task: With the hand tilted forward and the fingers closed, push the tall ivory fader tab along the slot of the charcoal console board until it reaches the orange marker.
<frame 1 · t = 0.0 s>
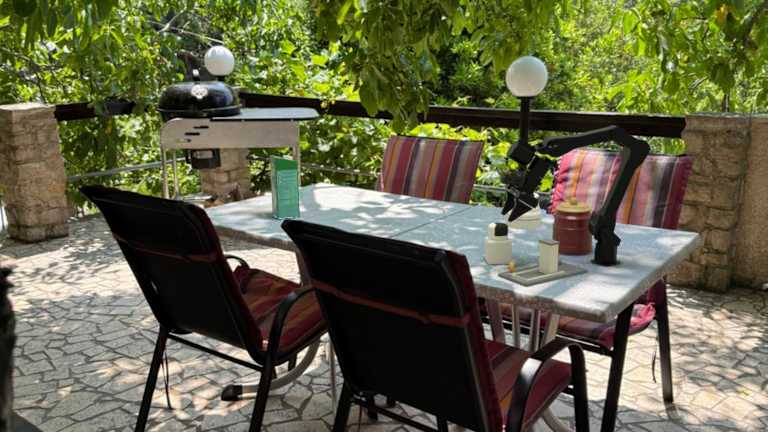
hand: (505, 218, 220), 15 cm above the table, tool tilted 35°, fingers open, 9 cm apart
canister: (571, 250, 239), on the table
honey pot: (523, 226, 274), on the table
medicine bottle: (497, 261, 228), on the table
milk carton: (286, 217, 295), on the table
fader tab: (548, 256, 212), point 6 cm above the table, slide at 0.0 cm
console: (543, 274, 214), on the table
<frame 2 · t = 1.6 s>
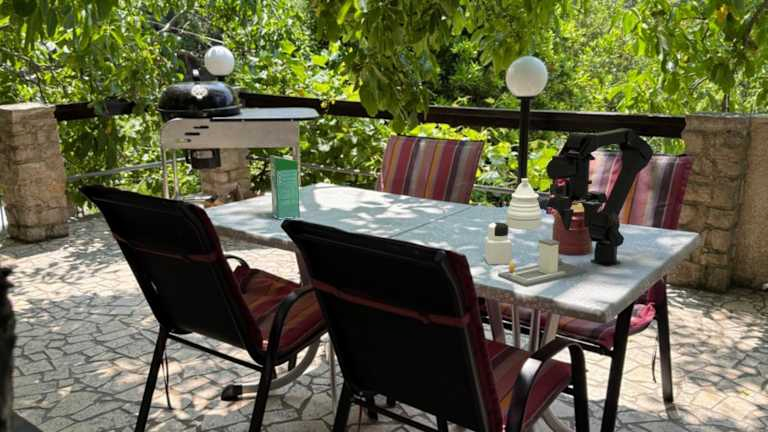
hand: (576, 228, 216), 12 cm above the table, tool pointing down, fingers open, 8 cm apart
nothing on the table moved.
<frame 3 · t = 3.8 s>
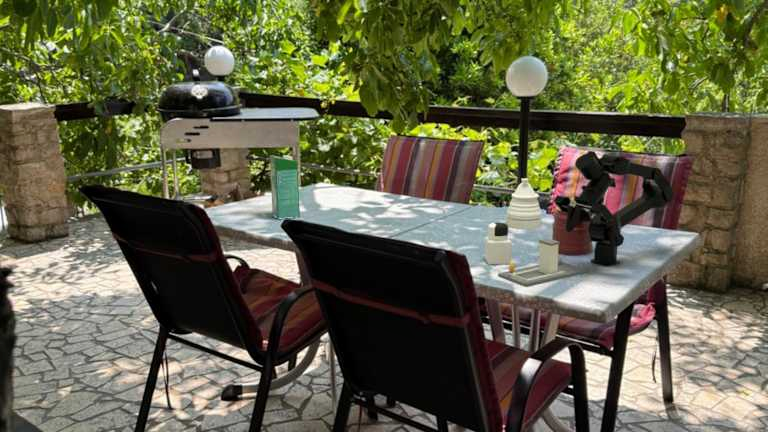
hand: (567, 231, 214), 12 cm above the table, tool tilted 45°, fingers closed
nothing on the table moved.
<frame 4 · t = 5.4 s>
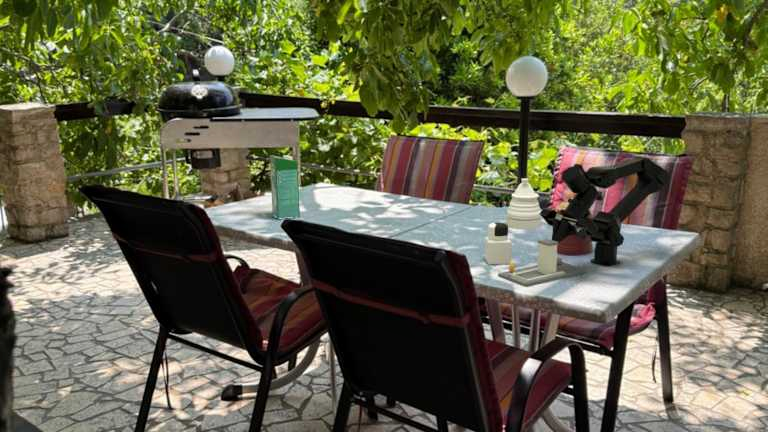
hand: (552, 244, 212), 9 cm above the table, tool tilted 45°, fingers closed, pressing on fader tab
fader tab: (547, 257, 211), point 6 cm above the table, slide at 0.5 cm, touching gripper
everything else where it was.
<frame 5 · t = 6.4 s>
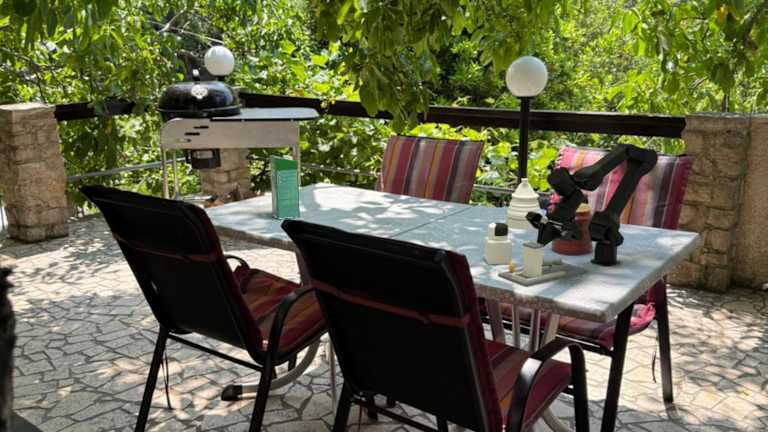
hand: (537, 248, 209), 9 cm above the table, tool tilted 45°, fingers closed, pressing on fader tab
fader tab: (532, 260, 208), point 6 cm above the table, slide at 6.2 cm, touching gripper
everything else where it was.
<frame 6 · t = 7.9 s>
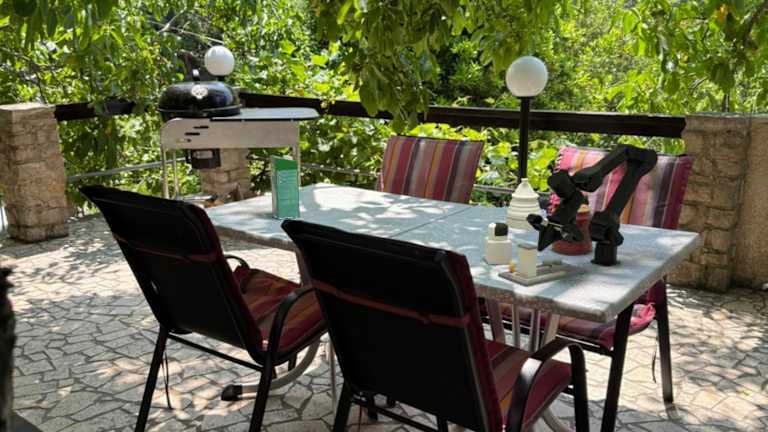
hand: (538, 251, 209), 8 cm above the table, tool tilted 45°, fingers closed
fader tab: (527, 261, 207), point 6 cm above the table, slide at 8.2 cm
everything else where it was.
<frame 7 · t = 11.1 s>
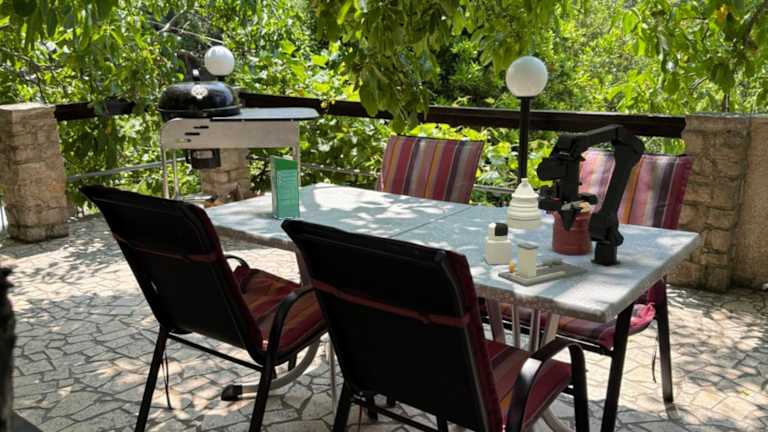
hand: (567, 230, 214), 12 cm above the table, tool pointing down, fingers closed
nothing on the table moved.
at the end: fader tab slide at 8.2 cm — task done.
